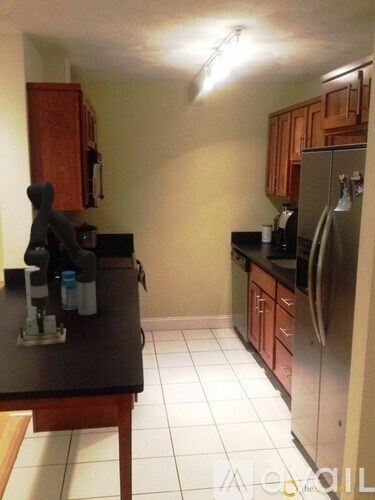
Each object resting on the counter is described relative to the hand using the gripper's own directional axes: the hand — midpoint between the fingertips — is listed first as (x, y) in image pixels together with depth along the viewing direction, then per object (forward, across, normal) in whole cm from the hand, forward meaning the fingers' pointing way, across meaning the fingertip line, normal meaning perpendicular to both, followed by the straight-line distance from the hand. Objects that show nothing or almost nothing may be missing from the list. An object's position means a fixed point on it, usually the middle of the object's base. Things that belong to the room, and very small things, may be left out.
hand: (41, 330), depth 196 cm
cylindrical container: (+4, +31, +6) cm, 32 cm away
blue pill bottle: (+4, +41, -11) cm, 43 cm away
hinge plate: (+4, 0, 0) cm, 4 cm away
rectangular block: (+1, 0, 0) cm, 1 cm away
